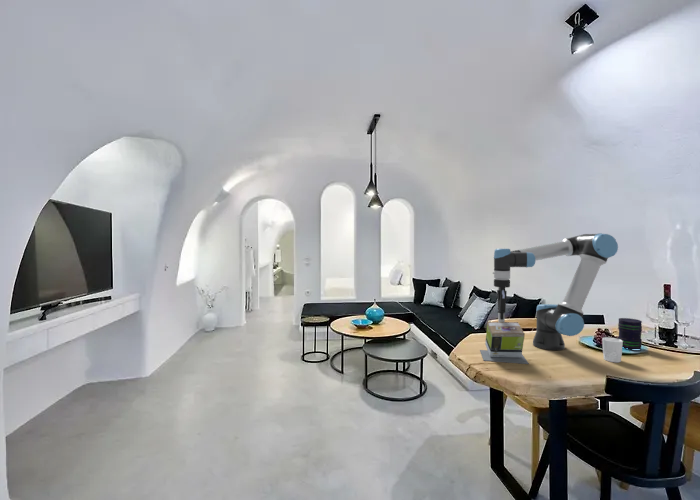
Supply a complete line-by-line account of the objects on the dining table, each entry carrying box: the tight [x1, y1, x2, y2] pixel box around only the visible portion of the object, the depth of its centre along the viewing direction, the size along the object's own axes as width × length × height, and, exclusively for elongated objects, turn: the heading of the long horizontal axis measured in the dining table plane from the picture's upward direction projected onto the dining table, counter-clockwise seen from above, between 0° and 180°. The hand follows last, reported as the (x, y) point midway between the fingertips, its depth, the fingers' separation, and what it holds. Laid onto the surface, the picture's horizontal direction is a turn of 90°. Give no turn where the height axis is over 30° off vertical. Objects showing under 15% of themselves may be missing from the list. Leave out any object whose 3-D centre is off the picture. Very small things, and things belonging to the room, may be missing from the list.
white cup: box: [601, 336, 623, 363], centre depth 166 cm, size 8×8×10 cm
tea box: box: [484, 321, 525, 358], centre depth 171 cm, size 15×10×15 cm
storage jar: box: [617, 317, 643, 350], centre depth 185 cm, size 10×10×15 cm
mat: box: [479, 349, 530, 365], centre depth 172 cm, size 20×16×1 cm
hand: (501, 325), depth 175 cm, fingers closed
